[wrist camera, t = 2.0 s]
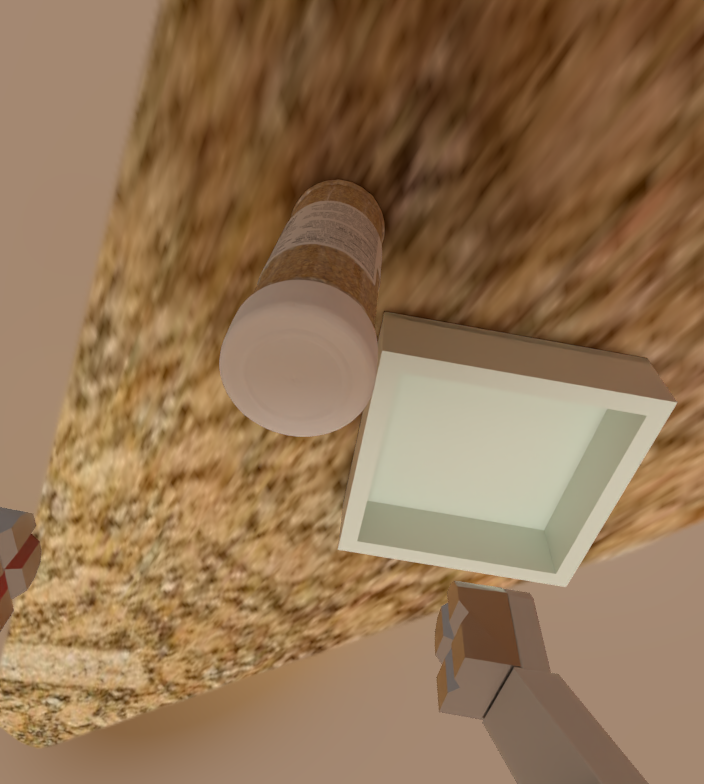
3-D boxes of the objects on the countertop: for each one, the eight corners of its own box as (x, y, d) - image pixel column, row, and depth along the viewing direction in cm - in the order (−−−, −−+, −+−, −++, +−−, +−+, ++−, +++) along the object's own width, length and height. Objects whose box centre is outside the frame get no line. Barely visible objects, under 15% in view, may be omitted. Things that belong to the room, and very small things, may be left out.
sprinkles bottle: (345, 288, 29) (310, 466, 18) (271, 230, 28) (185, 385, 17) (406, 220, 27) (409, 375, 16) (330, 153, 25) (275, 272, 14)
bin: (384, 311, 30) (382, 350, 26) (647, 358, 30) (677, 402, 27) (343, 501, 38) (337, 549, 34) (551, 536, 38) (565, 586, 35)
